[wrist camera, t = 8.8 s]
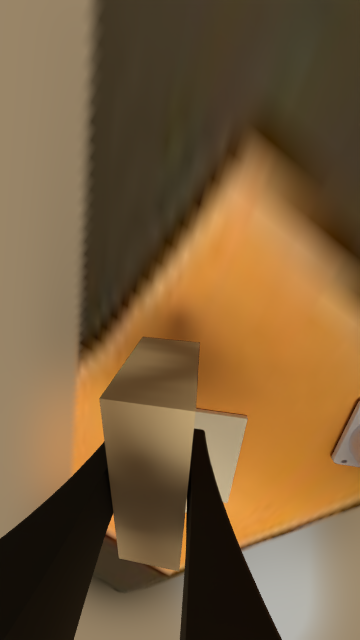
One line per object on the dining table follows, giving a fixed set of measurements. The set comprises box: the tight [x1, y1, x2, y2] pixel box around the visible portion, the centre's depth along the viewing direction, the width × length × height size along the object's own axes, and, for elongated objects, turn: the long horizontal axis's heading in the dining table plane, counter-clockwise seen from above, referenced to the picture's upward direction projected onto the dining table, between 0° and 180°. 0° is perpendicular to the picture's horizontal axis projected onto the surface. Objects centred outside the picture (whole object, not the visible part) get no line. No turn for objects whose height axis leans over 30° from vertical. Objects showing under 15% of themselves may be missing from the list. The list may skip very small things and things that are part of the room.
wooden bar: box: [99, 337, 200, 571], centre depth 10 cm, size 3×10×4 cm, turn 177°
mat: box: [194, 409, 248, 503], centre depth 23 cm, size 14×14×1 cm
